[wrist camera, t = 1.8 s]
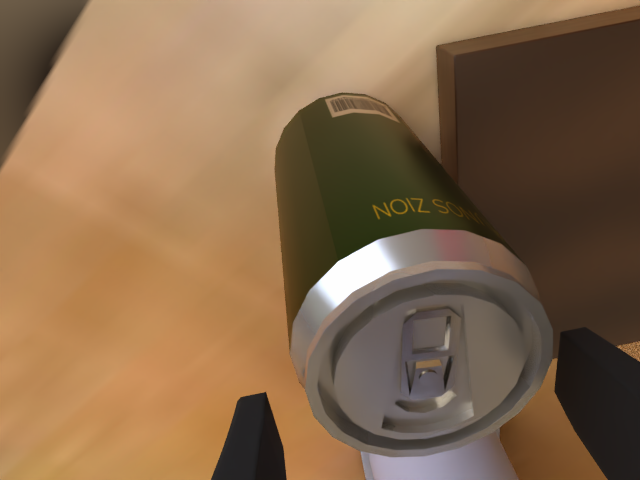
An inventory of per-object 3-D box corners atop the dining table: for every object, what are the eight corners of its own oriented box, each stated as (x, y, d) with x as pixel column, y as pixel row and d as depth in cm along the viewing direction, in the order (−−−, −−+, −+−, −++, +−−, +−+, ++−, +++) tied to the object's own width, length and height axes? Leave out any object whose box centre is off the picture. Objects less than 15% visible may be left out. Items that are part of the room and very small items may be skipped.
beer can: (266, 93, 19) (279, 275, 8) (409, 81, 19) (592, 240, 9) (280, 222, 21) (303, 479, 11) (406, 209, 22) (541, 446, 11)
